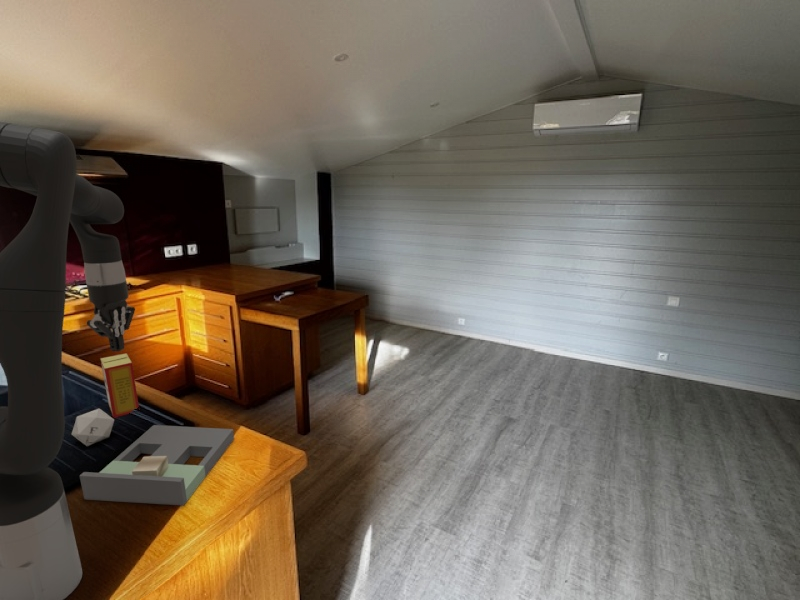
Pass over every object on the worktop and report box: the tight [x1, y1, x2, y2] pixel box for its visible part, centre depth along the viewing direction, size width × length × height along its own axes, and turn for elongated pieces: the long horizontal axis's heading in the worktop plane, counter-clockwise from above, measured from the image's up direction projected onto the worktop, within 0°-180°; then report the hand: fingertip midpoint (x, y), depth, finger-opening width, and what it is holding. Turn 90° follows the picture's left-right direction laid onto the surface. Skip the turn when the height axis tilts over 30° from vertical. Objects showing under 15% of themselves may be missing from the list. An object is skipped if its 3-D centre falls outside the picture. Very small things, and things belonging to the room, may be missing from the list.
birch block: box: [132, 455, 168, 477], centre depth 90 cm, size 5×5×3 cm
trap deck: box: [79, 424, 235, 506], centre depth 97 cm, size 24×22×6 cm
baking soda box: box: [99, 352, 140, 419], centre depth 121 cm, size 10×6×16 cm
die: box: [71, 408, 115, 447], centre depth 106 cm, size 8×9×10 cm
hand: (118, 350), depth 98 cm, fingers closed
